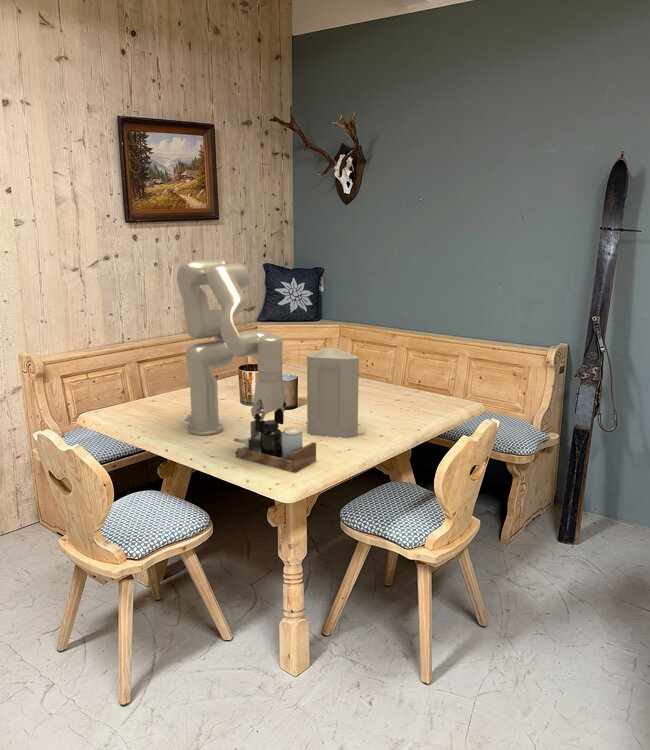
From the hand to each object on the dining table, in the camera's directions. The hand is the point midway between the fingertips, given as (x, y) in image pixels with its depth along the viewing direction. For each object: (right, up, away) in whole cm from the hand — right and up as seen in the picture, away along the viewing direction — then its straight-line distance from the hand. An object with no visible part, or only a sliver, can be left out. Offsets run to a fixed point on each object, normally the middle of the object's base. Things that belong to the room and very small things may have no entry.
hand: (269, 427), depth 209 cm
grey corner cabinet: (+18, -4, +28) cm, 33 cm away
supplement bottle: (+1, -10, +2) cm, 10 cm away
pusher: (-8, -8, +7) cm, 14 cm away
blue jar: (+7, -11, -2) cm, 13 cm away
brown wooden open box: (+2, -10, +1) cm, 10 cm away
